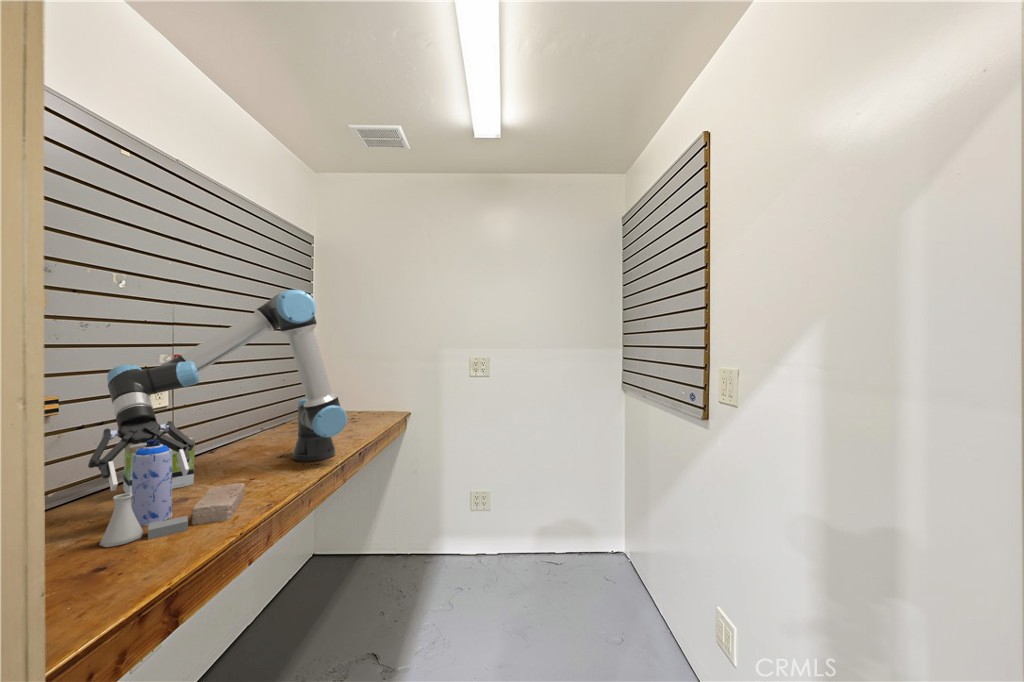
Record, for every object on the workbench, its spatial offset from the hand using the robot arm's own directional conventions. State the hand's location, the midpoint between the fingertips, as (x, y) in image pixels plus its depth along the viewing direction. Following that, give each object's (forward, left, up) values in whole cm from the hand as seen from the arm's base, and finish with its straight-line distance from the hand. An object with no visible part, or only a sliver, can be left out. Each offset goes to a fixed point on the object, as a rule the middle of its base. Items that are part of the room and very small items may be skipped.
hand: (152, 479), depth 99 cm
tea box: (+1, -29, -11) cm, 31 cm away
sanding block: (-4, +10, -11) cm, 15 cm away
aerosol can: (0, -1, -11) cm, 11 cm away
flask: (+4, +9, -11) cm, 14 cm away
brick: (-14, +2, -11) cm, 18 cm away
